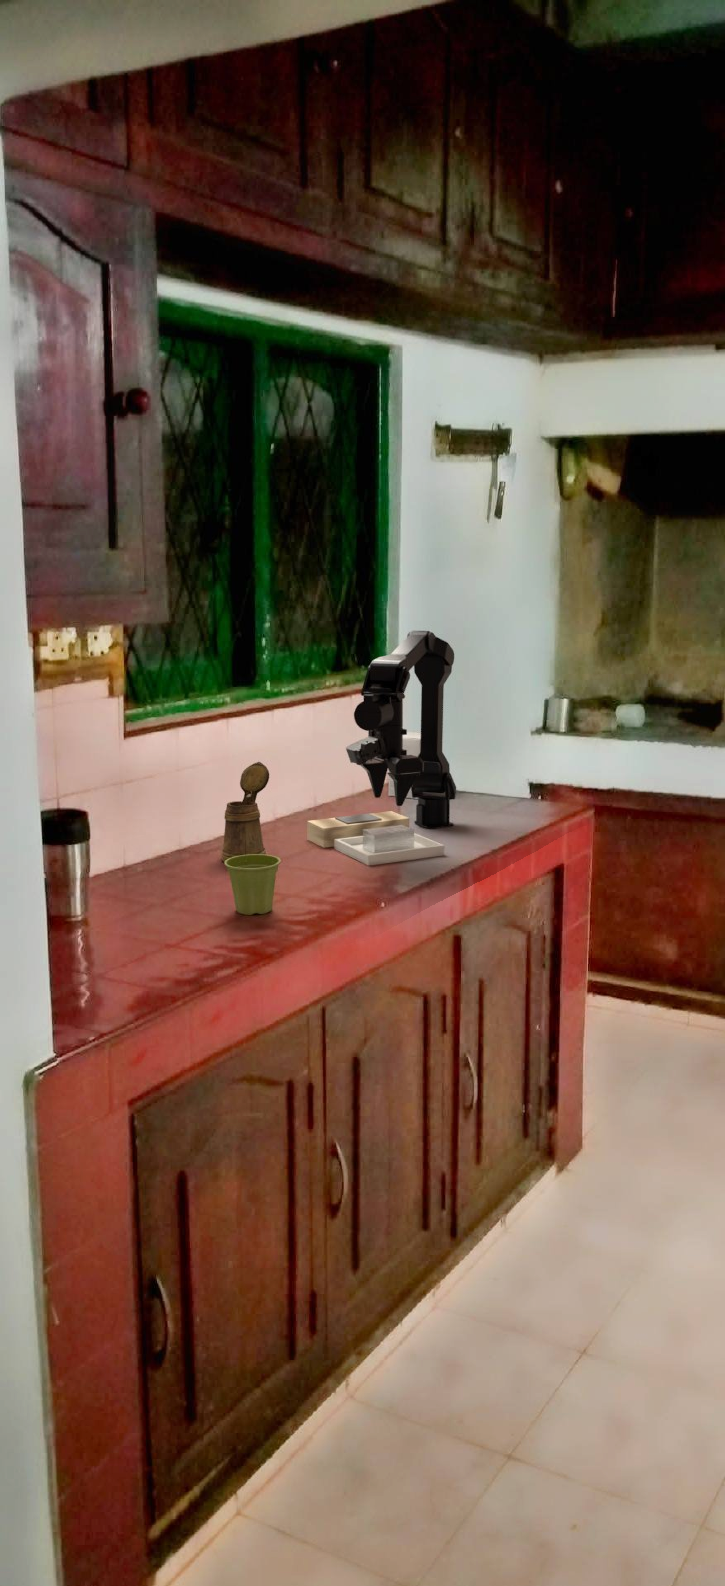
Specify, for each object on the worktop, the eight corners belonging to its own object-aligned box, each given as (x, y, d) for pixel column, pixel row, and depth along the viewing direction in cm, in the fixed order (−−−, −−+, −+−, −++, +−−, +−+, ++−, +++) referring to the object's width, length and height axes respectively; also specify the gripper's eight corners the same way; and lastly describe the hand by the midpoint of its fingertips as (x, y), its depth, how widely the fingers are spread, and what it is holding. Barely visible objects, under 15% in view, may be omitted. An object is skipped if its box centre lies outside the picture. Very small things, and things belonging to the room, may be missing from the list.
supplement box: (420, 800, 299) (420, 738, 296) (387, 796, 304) (387, 735, 301) (437, 793, 307) (437, 733, 304) (405, 790, 312) (405, 730, 309)
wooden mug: (282, 849, 252) (280, 762, 249) (255, 866, 240) (253, 774, 236) (241, 846, 255) (239, 760, 252) (213, 862, 243) (210, 771, 239)
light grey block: (402, 843, 254) (402, 824, 253) (414, 849, 250) (414, 829, 249) (362, 849, 250) (362, 829, 249) (374, 854, 246) (374, 834, 245)
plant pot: (259, 921, 205) (258, 870, 203) (214, 913, 210) (213, 863, 208) (292, 907, 213) (291, 858, 211) (248, 899, 217) (247, 851, 216)
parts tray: (407, 839, 260) (407, 830, 260) (444, 855, 247) (444, 845, 247) (334, 848, 253) (334, 839, 252) (368, 865, 239) (368, 855, 239)
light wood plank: (391, 829, 270) (391, 809, 269) (409, 836, 263) (409, 816, 262) (307, 839, 261) (306, 819, 260) (323, 847, 254) (323, 827, 253)
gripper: (330, 720, 249) (331, 797, 252) (373, 733, 233) (373, 814, 236) (379, 717, 254) (380, 792, 257) (425, 728, 238) (425, 808, 241)
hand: (388, 801), depth 248 cm, fingers open, 9 cm apart
